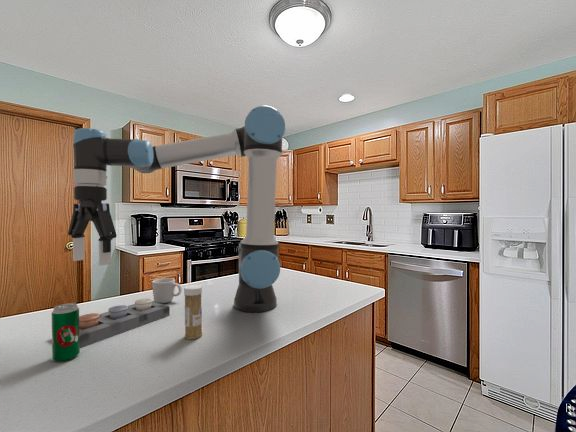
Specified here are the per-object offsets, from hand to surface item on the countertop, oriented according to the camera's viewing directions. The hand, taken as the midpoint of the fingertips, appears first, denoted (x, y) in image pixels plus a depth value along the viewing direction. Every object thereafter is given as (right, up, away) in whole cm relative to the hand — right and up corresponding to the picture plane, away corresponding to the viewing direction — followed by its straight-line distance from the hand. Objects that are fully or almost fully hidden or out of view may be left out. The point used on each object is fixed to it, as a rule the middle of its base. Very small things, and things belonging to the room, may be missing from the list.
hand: (91, 262), depth 81 cm
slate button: (+5, -17, +5) cm, 18 cm away
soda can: (+4, -20, -14) cm, 25 cm away
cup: (+10, -19, +27) cm, 35 cm away
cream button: (+9, -17, +12) cm, 22 cm away
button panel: (+5, -19, +5) cm, 20 cm away
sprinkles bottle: (+29, -20, -3) cm, 35 cm away
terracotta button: (+1, -17, -2) cm, 17 cm away
